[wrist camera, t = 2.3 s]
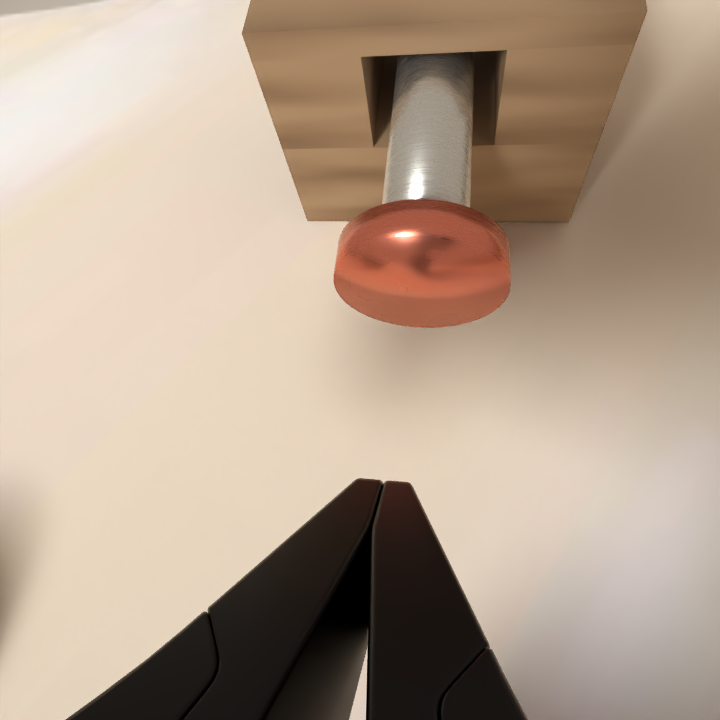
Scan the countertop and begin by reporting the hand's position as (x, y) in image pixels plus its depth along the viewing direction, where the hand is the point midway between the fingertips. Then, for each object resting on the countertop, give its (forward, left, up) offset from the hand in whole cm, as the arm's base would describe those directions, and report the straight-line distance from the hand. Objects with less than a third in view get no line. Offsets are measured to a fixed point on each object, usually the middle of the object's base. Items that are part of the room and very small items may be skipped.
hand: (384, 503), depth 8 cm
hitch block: (+6, -17, -12) cm, 22 cm away
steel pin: (+5, -14, -8) cm, 17 cm away
